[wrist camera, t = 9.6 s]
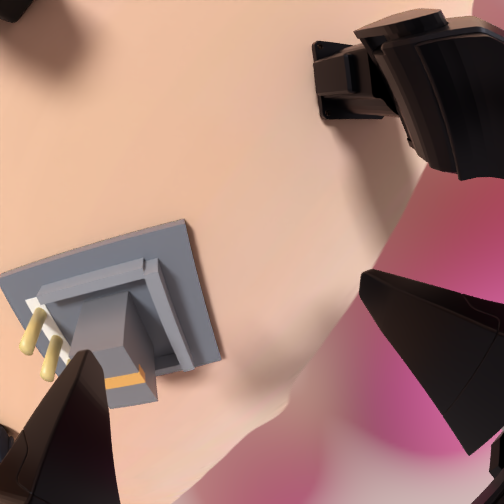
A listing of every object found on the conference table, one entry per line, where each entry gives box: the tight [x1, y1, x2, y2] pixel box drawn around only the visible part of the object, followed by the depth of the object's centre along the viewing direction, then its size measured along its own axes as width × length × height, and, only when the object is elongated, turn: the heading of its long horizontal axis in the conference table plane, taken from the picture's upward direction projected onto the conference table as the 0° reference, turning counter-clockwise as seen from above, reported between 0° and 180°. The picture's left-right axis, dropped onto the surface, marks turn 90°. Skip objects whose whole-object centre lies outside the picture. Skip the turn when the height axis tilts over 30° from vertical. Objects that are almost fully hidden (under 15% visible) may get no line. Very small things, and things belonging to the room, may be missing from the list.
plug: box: [68, 291, 158, 409], centre depth 18 cm, size 4×6×6 cm
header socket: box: [0, 219, 222, 382], centre depth 19 cm, size 17×14×6 cm
